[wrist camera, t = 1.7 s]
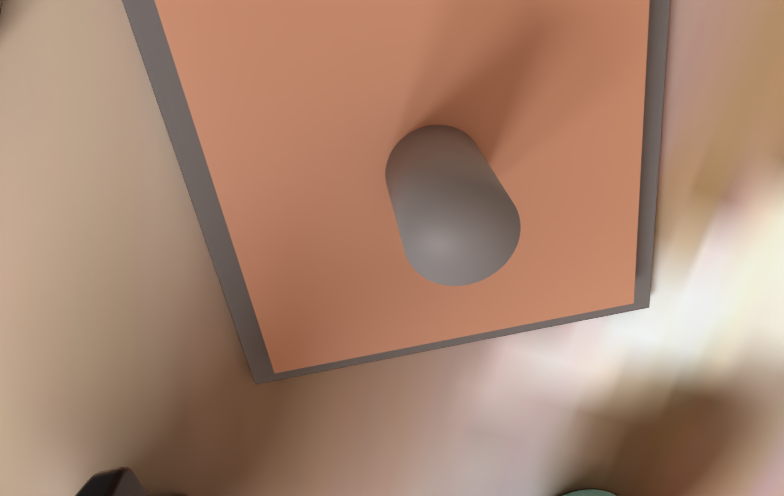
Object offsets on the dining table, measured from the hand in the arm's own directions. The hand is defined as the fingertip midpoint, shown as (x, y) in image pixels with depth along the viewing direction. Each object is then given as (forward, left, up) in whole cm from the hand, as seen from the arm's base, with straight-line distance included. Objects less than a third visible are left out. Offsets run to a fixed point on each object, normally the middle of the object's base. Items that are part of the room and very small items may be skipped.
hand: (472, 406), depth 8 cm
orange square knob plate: (-2, -1, -13) cm, 13 cm away
